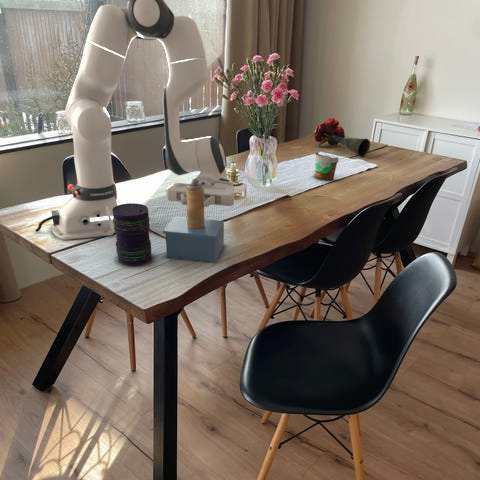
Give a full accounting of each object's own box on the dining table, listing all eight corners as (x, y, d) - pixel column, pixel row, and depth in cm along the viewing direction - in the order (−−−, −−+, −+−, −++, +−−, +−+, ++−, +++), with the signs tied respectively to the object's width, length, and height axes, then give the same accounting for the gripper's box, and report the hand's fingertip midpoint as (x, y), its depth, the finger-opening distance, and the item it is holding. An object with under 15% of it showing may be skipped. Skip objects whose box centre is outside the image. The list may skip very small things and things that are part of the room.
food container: (305, 176, 218) (308, 153, 213) (314, 174, 222) (317, 151, 216) (326, 183, 211) (329, 159, 205) (335, 180, 214) (339, 157, 209)
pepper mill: (191, 230, 139) (190, 182, 132) (184, 224, 143) (182, 177, 136) (207, 227, 142) (207, 180, 134) (199, 221, 145) (198, 175, 138)
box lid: (162, 233, 139) (162, 230, 138) (174, 218, 149) (174, 216, 148) (215, 238, 137) (215, 235, 136) (224, 223, 147) (224, 220, 146)
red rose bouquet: (361, 171, 257) (314, 153, 278) (383, 144, 257) (334, 128, 279) (353, 150, 244) (304, 133, 266) (376, 123, 245) (325, 108, 267)
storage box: (166, 257, 142) (165, 233, 139) (178, 241, 153) (177, 219, 149) (215, 262, 141) (215, 238, 137) (223, 245, 151) (224, 223, 147)
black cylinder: (112, 264, 137) (106, 213, 129) (124, 250, 145) (119, 201, 137) (146, 267, 136) (142, 217, 128) (156, 253, 144) (153, 204, 136)
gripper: (172, 175, 149) (158, 189, 137) (238, 181, 146) (229, 195, 135) (173, 195, 152) (160, 210, 141) (237, 201, 150) (229, 216, 138)
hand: (194, 203), depth 138 cm, fingers closed on pepper mill, 5 cm apart
